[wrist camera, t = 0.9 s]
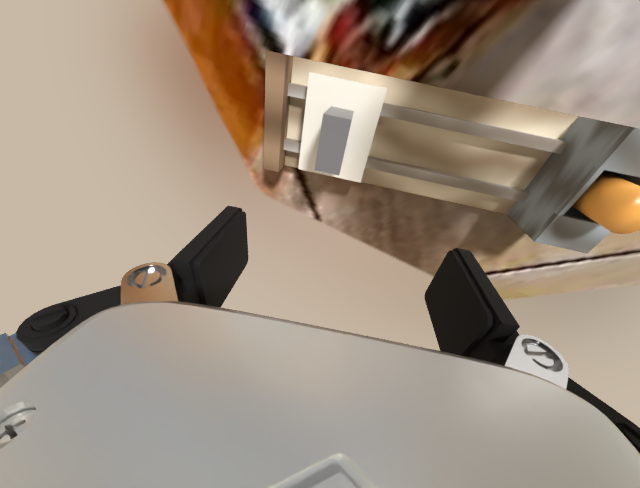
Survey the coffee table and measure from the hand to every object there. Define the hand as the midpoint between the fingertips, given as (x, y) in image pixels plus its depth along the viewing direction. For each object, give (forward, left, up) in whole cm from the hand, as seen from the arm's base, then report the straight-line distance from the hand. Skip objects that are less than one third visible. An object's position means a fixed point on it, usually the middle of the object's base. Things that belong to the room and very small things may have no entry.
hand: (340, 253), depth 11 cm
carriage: (-1, -2, -23) cm, 23 cm away
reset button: (-1, +25, -19) cm, 31 cm away
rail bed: (-1, +9, -25) cm, 26 cm away
